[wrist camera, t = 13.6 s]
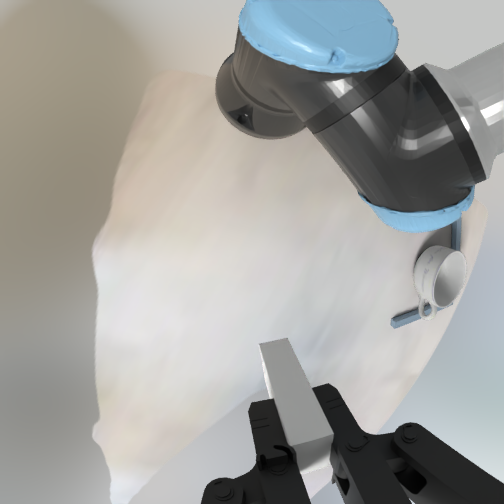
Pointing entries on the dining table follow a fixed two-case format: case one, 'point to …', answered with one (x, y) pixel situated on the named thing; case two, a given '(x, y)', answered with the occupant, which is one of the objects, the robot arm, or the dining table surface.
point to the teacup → (439, 278)
